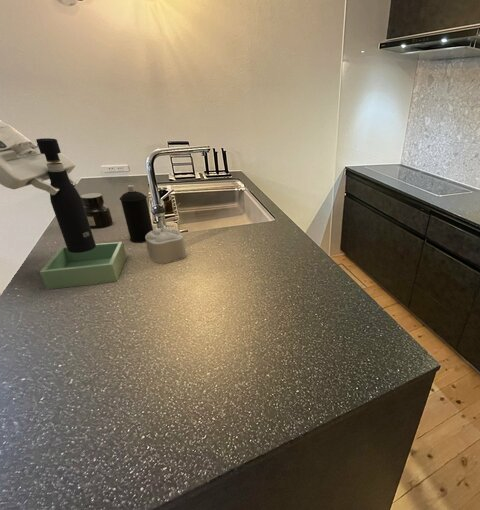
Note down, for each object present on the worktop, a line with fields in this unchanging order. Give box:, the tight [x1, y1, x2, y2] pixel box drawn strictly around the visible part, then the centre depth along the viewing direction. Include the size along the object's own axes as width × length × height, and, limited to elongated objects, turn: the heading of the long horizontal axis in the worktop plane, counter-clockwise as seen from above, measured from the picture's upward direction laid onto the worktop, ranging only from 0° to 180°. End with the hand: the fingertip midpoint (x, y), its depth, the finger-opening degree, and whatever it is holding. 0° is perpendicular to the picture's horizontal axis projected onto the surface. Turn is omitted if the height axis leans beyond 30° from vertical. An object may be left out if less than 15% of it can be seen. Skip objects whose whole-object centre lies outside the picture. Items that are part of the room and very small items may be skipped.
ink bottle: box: [80, 192, 114, 229], centre depth 121 cm, size 10×9×12 cm
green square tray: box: [39, 241, 128, 291], centre depth 91 cm, size 16×16×6 cm
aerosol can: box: [119, 184, 154, 243], centre depth 111 cm, size 8×8×20 cm
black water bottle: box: [35, 137, 97, 253], centre depth 82 cm, size 6×6×30 cm
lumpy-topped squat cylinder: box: [145, 226, 187, 265], centre depth 104 cm, size 10×13×9 cm
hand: (65, 189), depth 81 cm, fingers closed on black water bottle, 5 cm apart
